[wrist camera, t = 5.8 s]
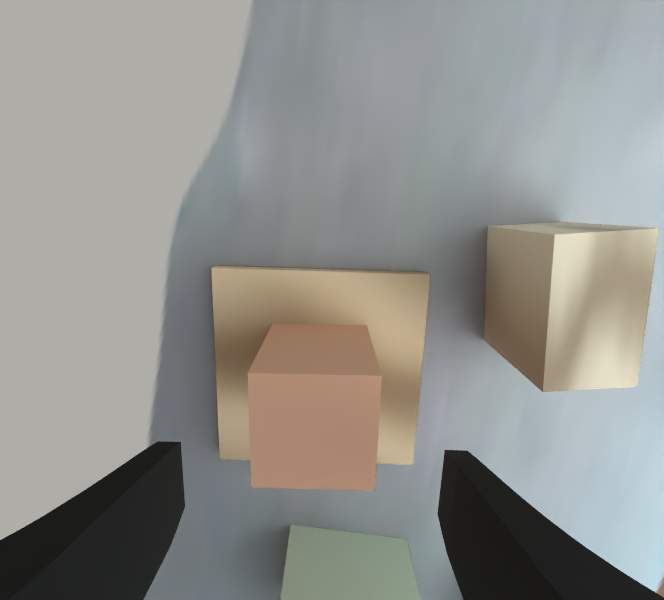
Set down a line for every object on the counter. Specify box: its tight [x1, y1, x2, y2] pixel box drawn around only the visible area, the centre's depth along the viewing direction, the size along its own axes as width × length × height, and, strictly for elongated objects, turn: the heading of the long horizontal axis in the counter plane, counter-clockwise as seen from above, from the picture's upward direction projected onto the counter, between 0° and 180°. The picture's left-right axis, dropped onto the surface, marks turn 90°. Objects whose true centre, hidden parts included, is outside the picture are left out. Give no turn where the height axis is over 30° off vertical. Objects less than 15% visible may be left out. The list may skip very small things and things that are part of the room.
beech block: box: [484, 222, 659, 392], centre depth 14 cm, size 5×5×3 cm
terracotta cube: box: [248, 323, 382, 490], centre depth 14 cm, size 4×4×5 cm
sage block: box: [280, 525, 420, 600], centre depth 18 cm, size 4×6×4 cm, turn 82°
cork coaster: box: [211, 266, 430, 465], centre depth 17 cm, size 9×9×1 cm
